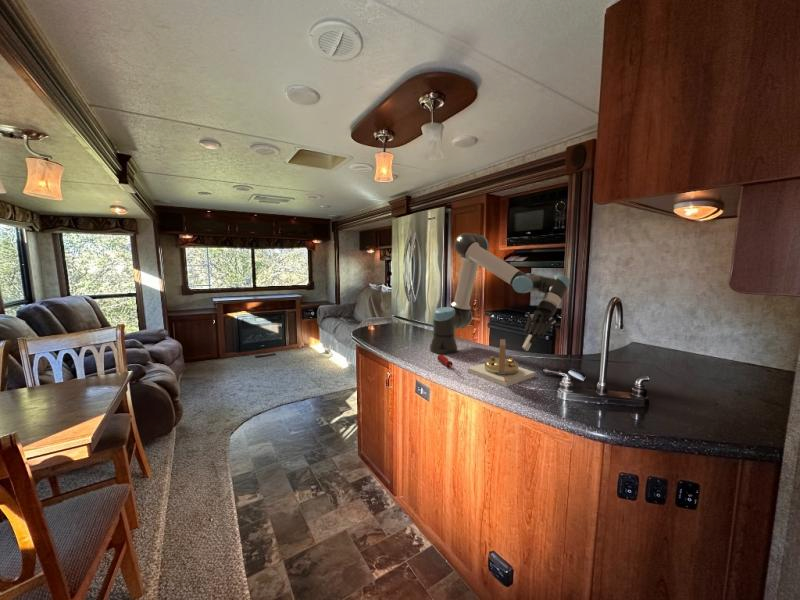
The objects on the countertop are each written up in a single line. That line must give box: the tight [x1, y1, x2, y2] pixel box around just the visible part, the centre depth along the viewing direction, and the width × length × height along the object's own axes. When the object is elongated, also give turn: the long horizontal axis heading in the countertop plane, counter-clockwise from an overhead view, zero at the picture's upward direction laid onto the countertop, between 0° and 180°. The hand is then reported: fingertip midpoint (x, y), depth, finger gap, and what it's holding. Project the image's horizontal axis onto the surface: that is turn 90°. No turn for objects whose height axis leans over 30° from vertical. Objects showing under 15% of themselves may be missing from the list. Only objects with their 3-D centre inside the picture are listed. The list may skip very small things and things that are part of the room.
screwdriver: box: [437, 354, 462, 375], centre depth 146 cm, size 4×25×4 cm, turn 13°
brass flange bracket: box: [484, 338, 520, 375], centre depth 134 cm, size 22×14×15 cm, turn 162°
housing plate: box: [467, 362, 536, 388], centre depth 138 cm, size 20×20×2 cm
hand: (524, 348), depth 135 cm, fingers closed
